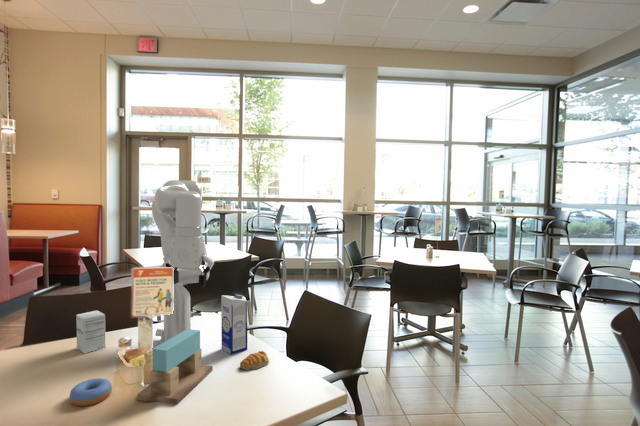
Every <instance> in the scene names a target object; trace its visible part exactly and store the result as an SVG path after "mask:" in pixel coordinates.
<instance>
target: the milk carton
mask: <svg viewBox="0 0 640 426" xmlns="http://www.w3.org/2000/svg"><path fill="white" fill-rule="evenodd" d="M220 301H221V304H220V305H221V314H220V315H221V350H223V351H224V352H226V354H229V355H235V354H238V353H241V352H245V351H248V300H247V299H244V298H243V295H241V294H234V296H232V295H221V297H220Z"/></svg>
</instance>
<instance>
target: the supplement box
mask: <svg viewBox="0 0 640 426" xmlns="http://www.w3.org/2000/svg"><path fill="white" fill-rule="evenodd" d="M75 319H76V321H75V322H76V349H77V348H78V349H77V350H79V349H80V350H81V351H80V350H79V351H80V352H82V354H84V353H85V354H88V353H87V352H89V353H92V352H91V351H93V352H96V351H95V350H97V351H100V350H103V348H104V349H106V348H107V347H106V346H107V345H106V314H105V313H103V312H101V311H99V310H91V311H87V312H83V313H78V314H76V318H75Z"/></svg>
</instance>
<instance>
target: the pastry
mask: <svg viewBox="0 0 640 426" xmlns="http://www.w3.org/2000/svg"><path fill="white" fill-rule="evenodd" d="M269 363H270V359H269V357H268V354H267V353H266V352H265V351H264V350H259V351H258V352H254V353H250V354H249V355H247V356H246V357H244V359H243V360H242V361H240V363H239V364H240V365H239V368H240V369H241V370H245V371H249V370H257V369H259V368H261V367H264V366H265V367H266V366H267V365H268V364H269Z"/></svg>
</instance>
